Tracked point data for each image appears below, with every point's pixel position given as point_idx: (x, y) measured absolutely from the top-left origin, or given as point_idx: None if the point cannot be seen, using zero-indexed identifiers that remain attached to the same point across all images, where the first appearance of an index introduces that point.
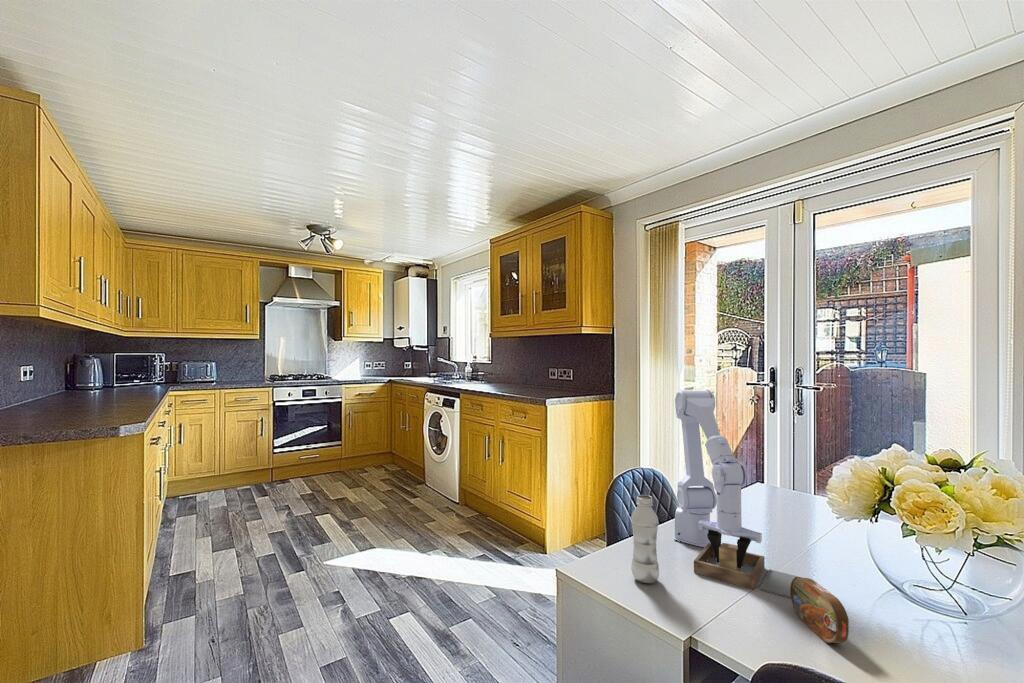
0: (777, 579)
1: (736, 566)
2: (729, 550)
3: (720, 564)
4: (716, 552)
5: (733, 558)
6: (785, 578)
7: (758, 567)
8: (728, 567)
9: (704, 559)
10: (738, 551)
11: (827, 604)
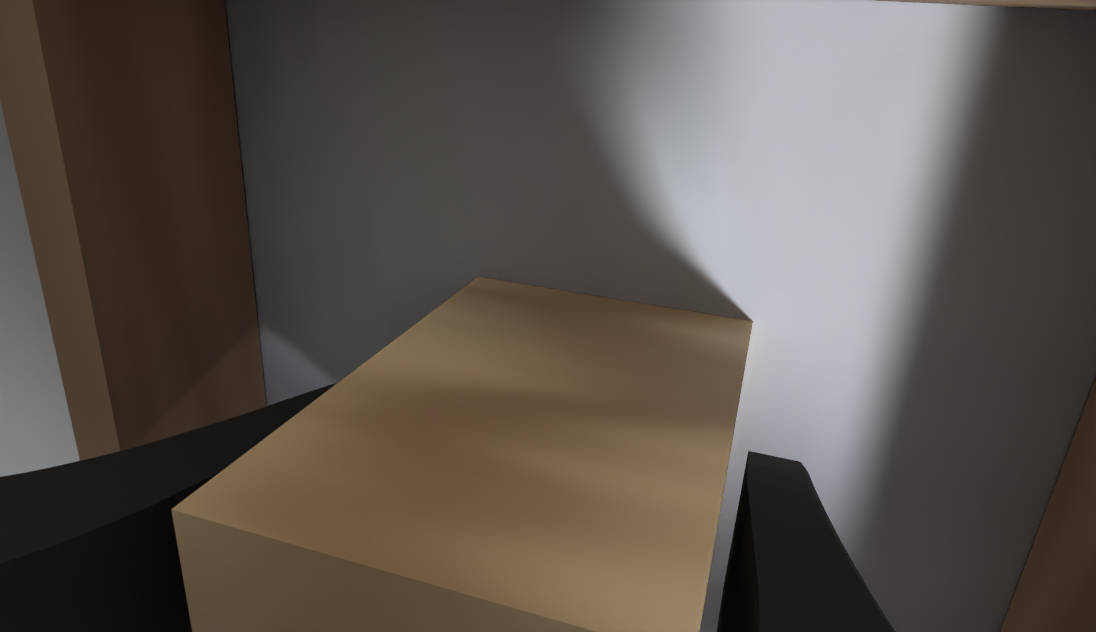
0: (53, 372)
1: (404, 345)
2: (357, 549)
3: (714, 372)
4: (802, 579)
5: (371, 413)
6: (15, 436)
7: (62, 364)
8: (561, 333)
9: (1085, 554)
10: (105, 511)
11: None
